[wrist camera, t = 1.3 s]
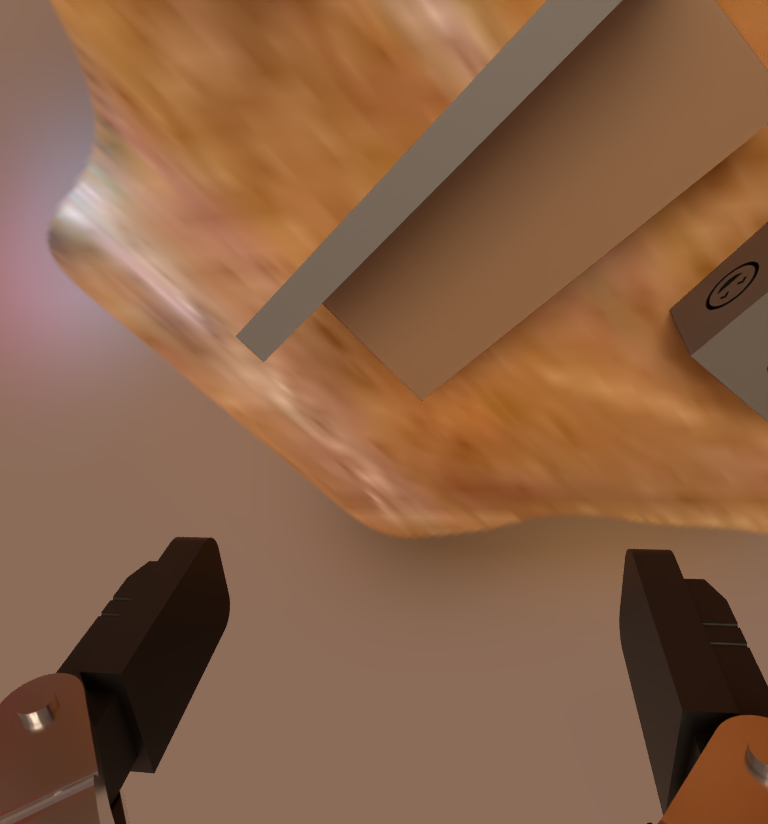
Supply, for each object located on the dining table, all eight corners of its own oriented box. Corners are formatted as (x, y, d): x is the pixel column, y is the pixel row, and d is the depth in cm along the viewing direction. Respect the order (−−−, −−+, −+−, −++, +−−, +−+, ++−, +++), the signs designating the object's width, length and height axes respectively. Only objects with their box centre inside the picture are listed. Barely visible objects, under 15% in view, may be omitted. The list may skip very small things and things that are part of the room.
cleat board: (626, -70, 23) (683, -147, 13) (749, 92, 24) (878, 126, 15) (331, 244, 30) (235, 336, 21) (438, 352, 32) (393, 482, 22)
